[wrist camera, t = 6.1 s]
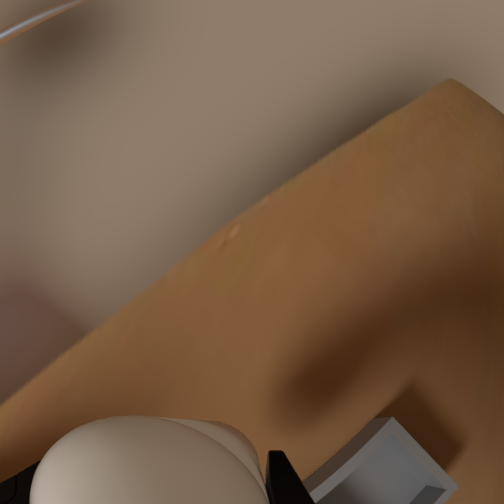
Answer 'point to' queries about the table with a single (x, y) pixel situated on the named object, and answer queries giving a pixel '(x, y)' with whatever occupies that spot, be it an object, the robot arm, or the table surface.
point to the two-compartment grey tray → (381, 470)
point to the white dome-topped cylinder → (150, 464)
